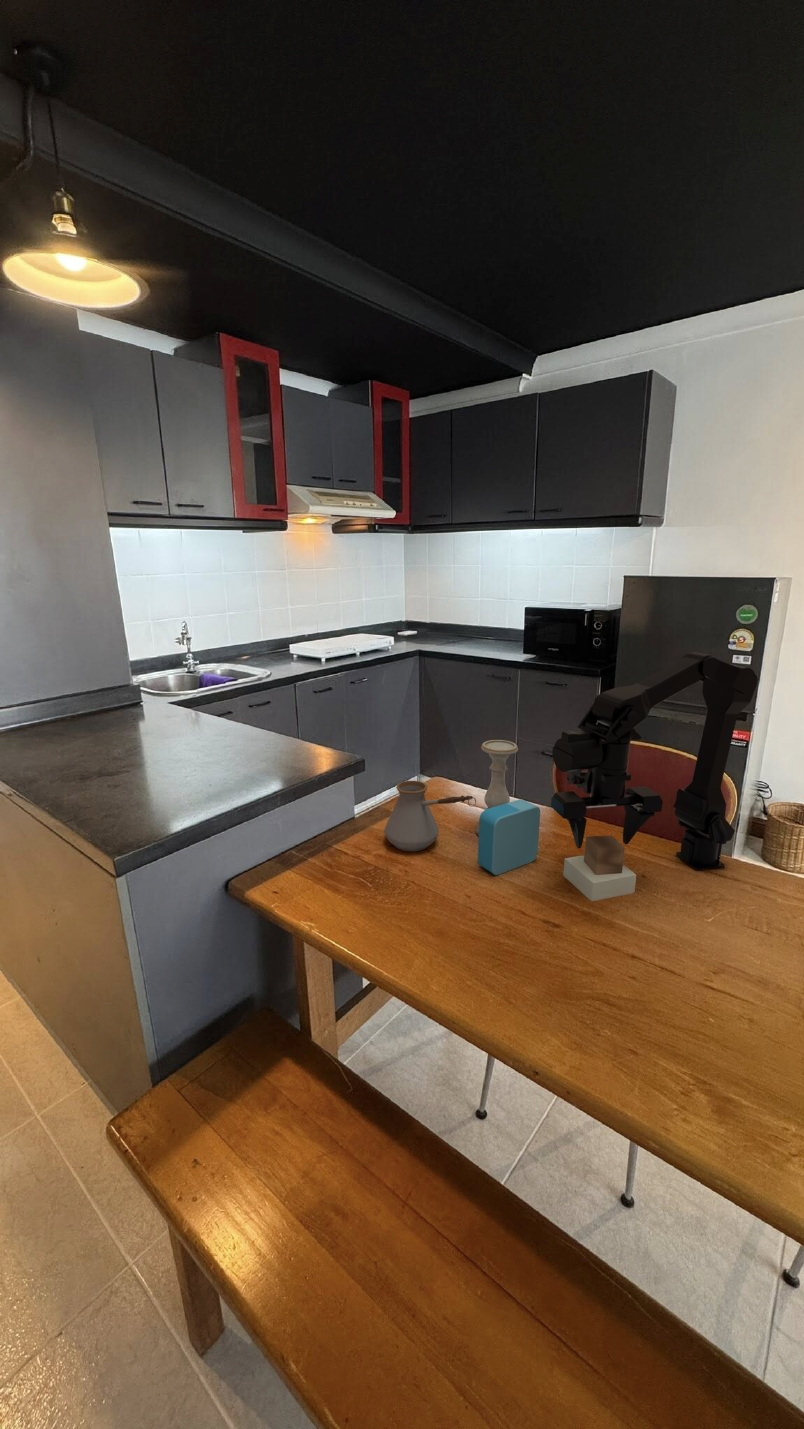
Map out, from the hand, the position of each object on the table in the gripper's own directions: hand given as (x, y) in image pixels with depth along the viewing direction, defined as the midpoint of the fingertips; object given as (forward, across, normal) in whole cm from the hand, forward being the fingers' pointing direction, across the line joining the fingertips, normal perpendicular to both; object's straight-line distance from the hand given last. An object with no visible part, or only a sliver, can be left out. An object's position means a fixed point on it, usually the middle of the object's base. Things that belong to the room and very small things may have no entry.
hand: (601, 845), depth 106 cm
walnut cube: (+4, 0, 0) cm, 4 cm away
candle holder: (+8, +12, -23) cm, 27 cm away
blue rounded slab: (+8, +14, -10) cm, 19 cm away
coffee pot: (+8, +28, -18) cm, 34 cm away
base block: (+8, 0, 0) cm, 8 cm away
